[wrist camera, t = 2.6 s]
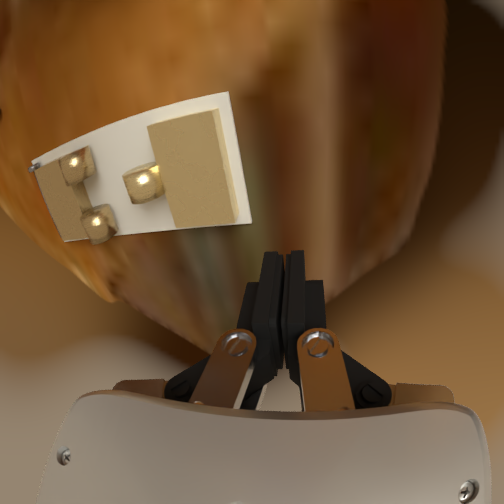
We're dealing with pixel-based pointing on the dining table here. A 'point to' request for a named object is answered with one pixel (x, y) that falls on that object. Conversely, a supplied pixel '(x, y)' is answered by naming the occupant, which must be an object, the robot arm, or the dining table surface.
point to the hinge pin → (38, 183)
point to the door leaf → (188, 171)
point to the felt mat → (140, 152)
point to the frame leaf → (75, 198)
